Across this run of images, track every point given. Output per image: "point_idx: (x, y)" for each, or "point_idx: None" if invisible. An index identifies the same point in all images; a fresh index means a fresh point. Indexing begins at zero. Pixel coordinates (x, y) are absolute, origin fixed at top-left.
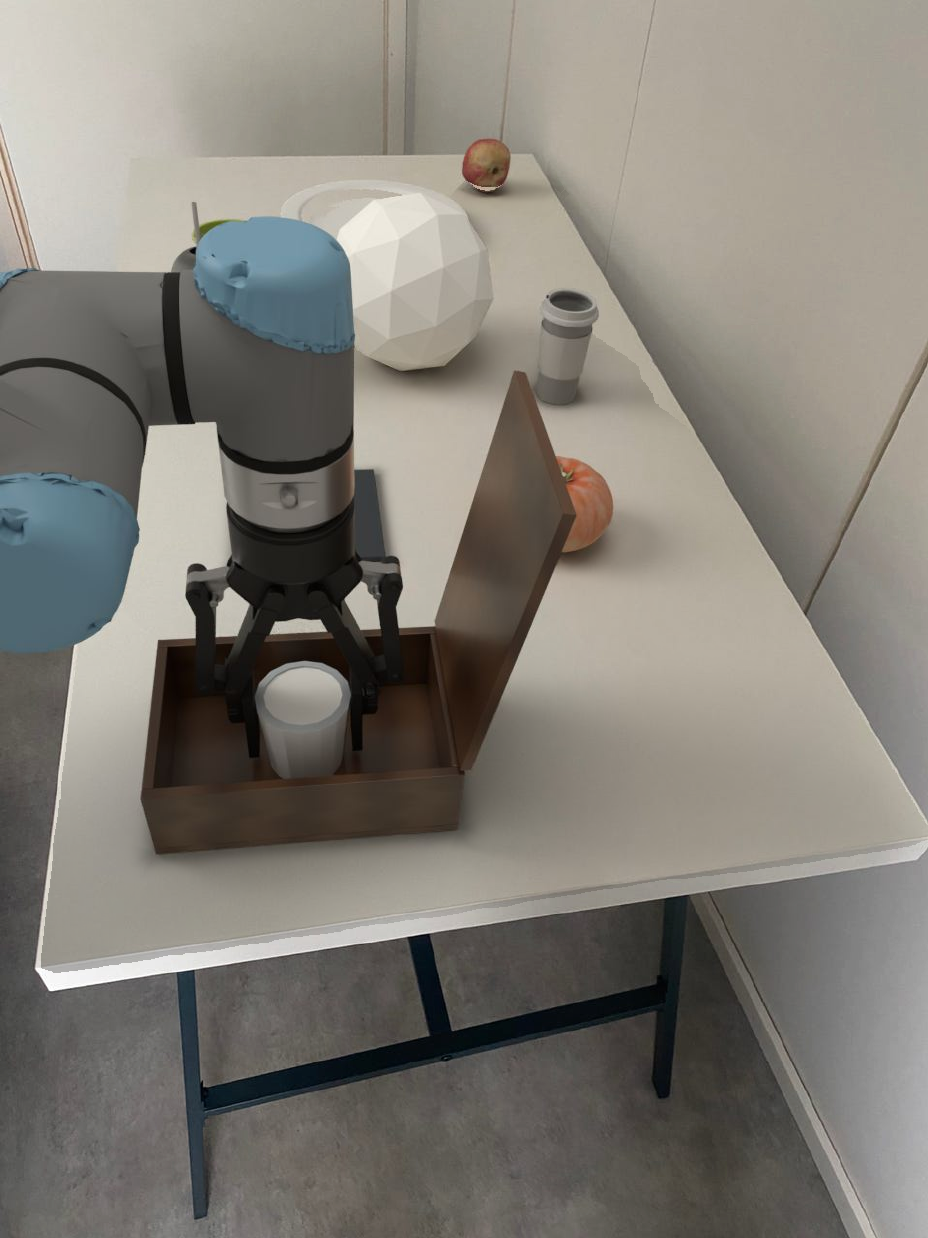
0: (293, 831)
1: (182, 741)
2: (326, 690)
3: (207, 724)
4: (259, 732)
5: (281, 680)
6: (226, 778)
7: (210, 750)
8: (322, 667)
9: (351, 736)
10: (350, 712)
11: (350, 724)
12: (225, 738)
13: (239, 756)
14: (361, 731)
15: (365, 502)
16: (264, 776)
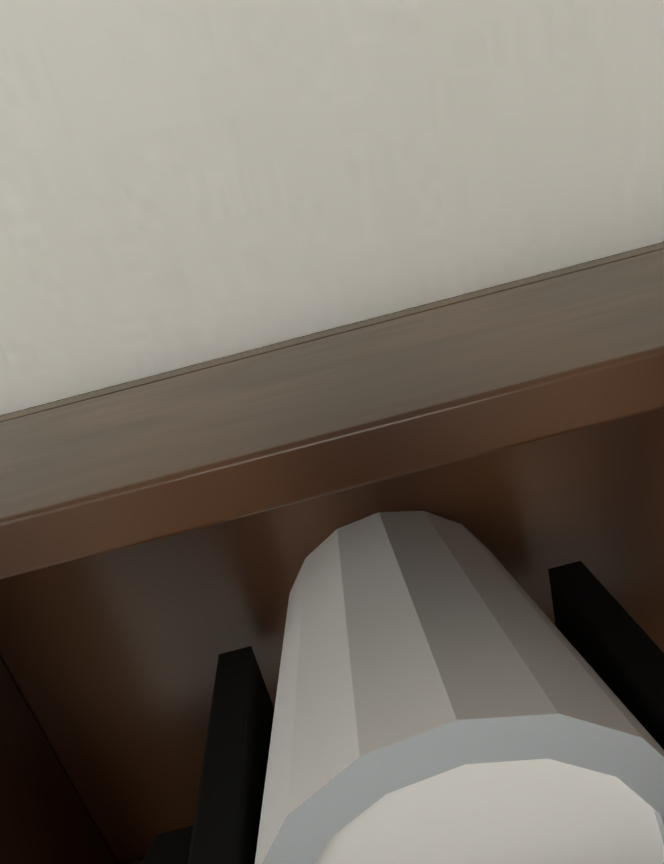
0: None
1: (14, 635)
2: (590, 845)
3: (60, 564)
4: (258, 679)
5: (360, 849)
6: (195, 713)
7: (113, 646)
8: (566, 748)
9: (560, 631)
10: (590, 638)
11: (551, 580)
12: (139, 598)
13: (205, 648)
14: None
15: None
16: None
